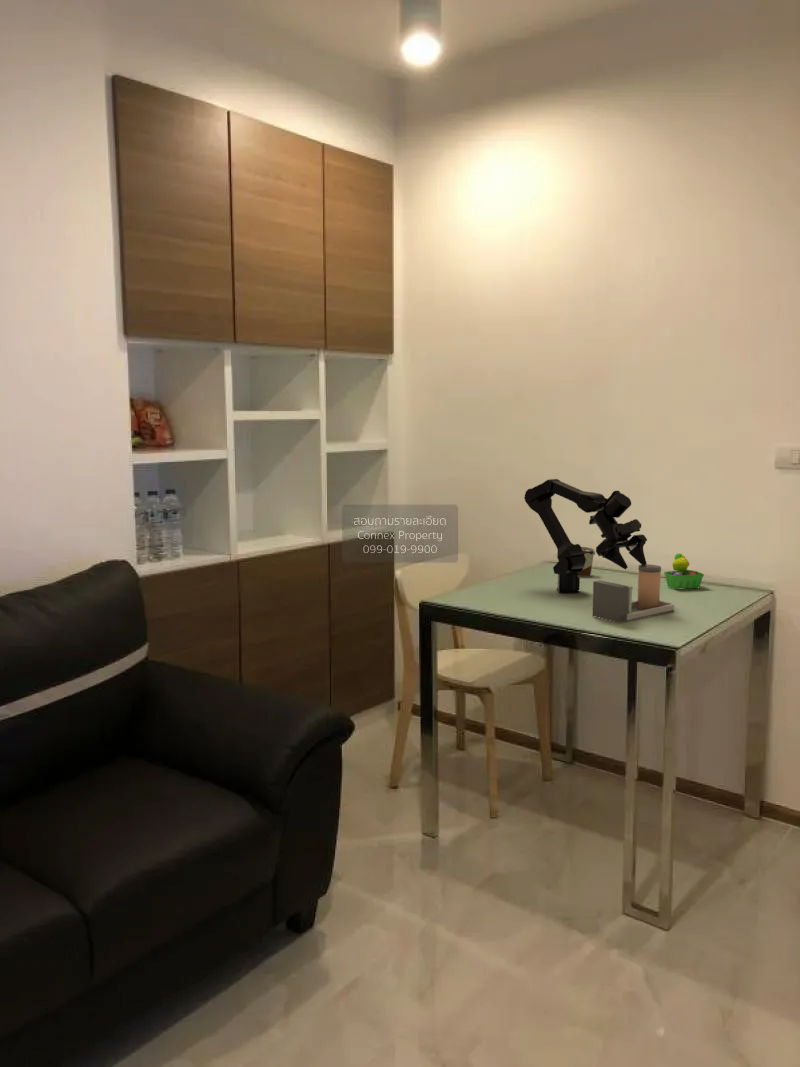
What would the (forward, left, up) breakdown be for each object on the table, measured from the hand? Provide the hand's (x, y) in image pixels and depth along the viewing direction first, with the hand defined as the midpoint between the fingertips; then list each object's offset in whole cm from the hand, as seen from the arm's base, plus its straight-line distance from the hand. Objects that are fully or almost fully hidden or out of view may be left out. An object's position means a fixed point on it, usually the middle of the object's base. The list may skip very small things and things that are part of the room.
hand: (636, 566), depth 267 cm
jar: (+3, -5, -12) cm, 13 cm away
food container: (-9, +50, -13) cm, 52 cm away
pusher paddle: (-7, -13, -12) cm, 19 cm away
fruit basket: (+23, +28, -13) cm, 38 cm away
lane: (-3, -9, -12) cm, 16 cm away
